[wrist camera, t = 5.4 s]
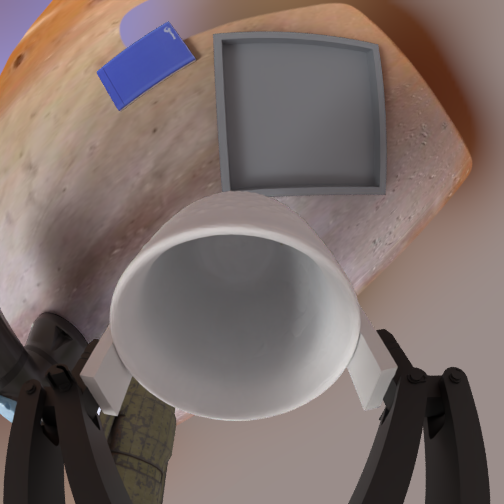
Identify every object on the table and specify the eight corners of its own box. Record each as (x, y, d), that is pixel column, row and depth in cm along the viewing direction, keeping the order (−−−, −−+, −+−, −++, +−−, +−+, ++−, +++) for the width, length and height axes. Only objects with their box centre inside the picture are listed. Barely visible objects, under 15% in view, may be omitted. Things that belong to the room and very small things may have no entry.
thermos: (168, 295, 41) (95, 521, 9) (206, 347, 45) (188, 548, 13) (128, 314, 42) (46, 501, 10) (167, 360, 47) (130, 537, 14)
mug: (254, 342, 27) (262, 457, 15) (150, 308, 25) (102, 416, 13) (324, 208, 22) (410, 284, 10) (198, 156, 20) (135, 173, 8)
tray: (223, 195, 36) (222, 199, 33) (215, 42, 28) (213, 34, 25) (375, 190, 37) (385, 194, 34) (369, 50, 28) (378, 44, 26)
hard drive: (168, 20, 25) (95, 71, 27) (195, 58, 28) (118, 110, 30) (170, 24, 26) (100, 73, 28) (197, 61, 29) (122, 111, 31)
